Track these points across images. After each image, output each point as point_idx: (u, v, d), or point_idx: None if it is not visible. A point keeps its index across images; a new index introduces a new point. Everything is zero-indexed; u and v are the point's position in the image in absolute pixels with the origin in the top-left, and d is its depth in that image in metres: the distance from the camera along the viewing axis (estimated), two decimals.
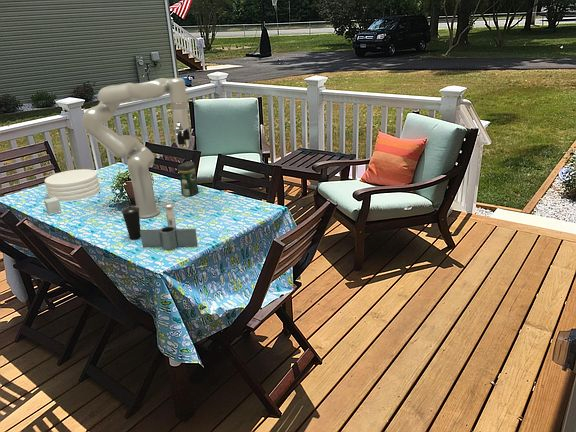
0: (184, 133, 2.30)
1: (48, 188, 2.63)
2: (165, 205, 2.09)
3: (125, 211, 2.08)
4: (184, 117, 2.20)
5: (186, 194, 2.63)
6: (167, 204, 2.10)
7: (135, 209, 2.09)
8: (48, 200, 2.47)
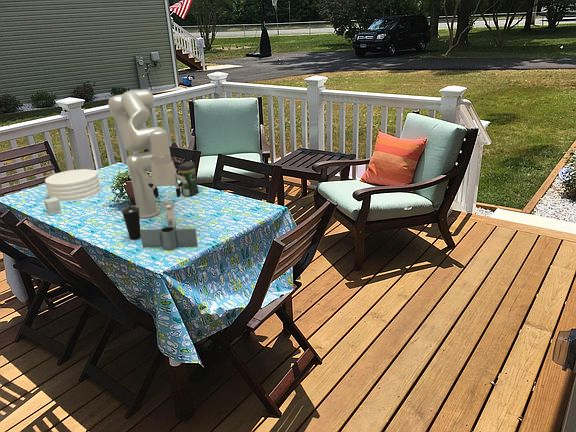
0: (156, 191, 2.07)
1: (48, 188, 2.64)
2: (165, 205, 2.09)
3: (125, 211, 2.08)
4: None
5: (186, 194, 2.63)
6: (167, 204, 2.10)
7: (135, 209, 2.09)
8: (48, 200, 2.47)
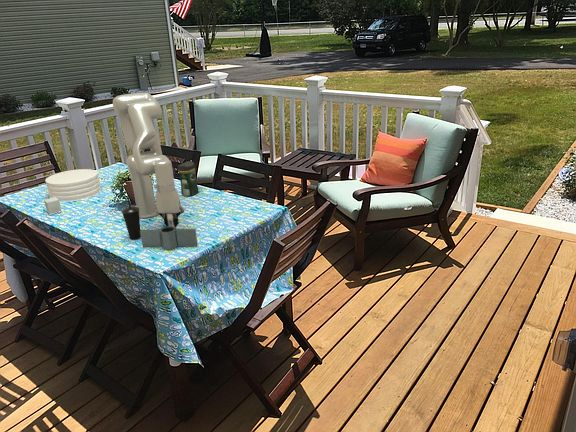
0: (166, 220, 2.13)
1: (49, 188, 2.64)
2: None
3: (125, 211, 2.08)
4: None
5: (186, 194, 2.63)
6: None
7: (135, 209, 2.09)
8: (48, 200, 2.47)
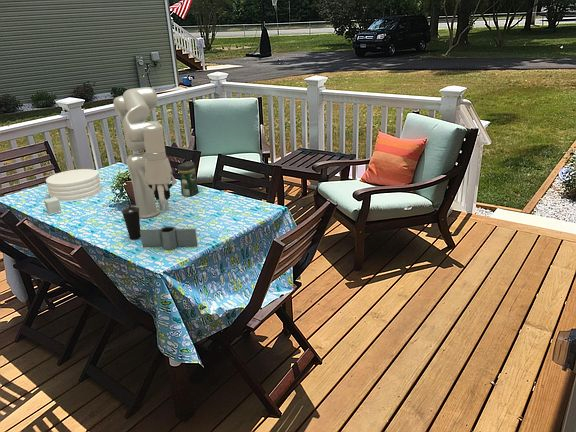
0: (157, 192, 1.95)
1: (49, 188, 2.64)
2: None
3: (125, 211, 2.08)
4: None
5: (186, 194, 2.63)
6: None
7: (135, 209, 2.09)
8: (48, 200, 2.47)
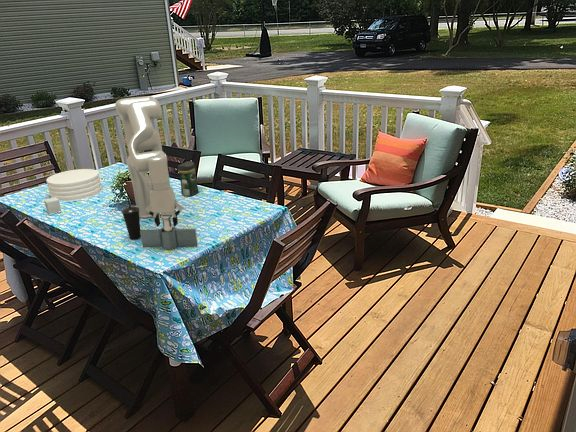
0: (157, 219, 2.00)
1: (50, 188, 2.64)
2: (162, 215, 1.98)
3: (125, 211, 2.08)
4: None
5: (186, 194, 2.63)
6: (165, 214, 1.99)
7: (135, 209, 2.09)
8: (48, 200, 2.47)
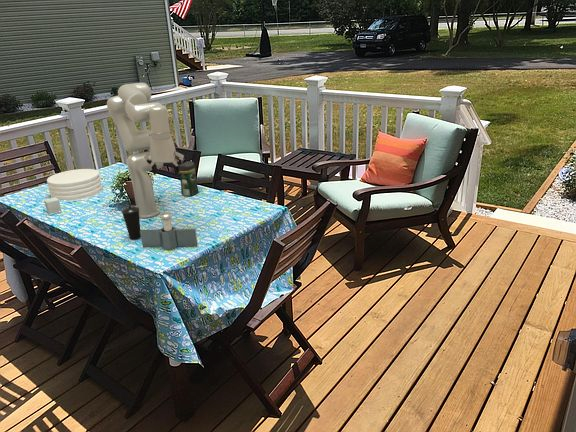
0: (154, 167, 2.05)
1: (50, 187, 2.64)
2: (162, 215, 1.98)
3: (125, 211, 2.08)
4: None
5: (186, 194, 2.63)
6: (164, 214, 1.99)
7: (135, 209, 2.09)
8: (48, 200, 2.47)
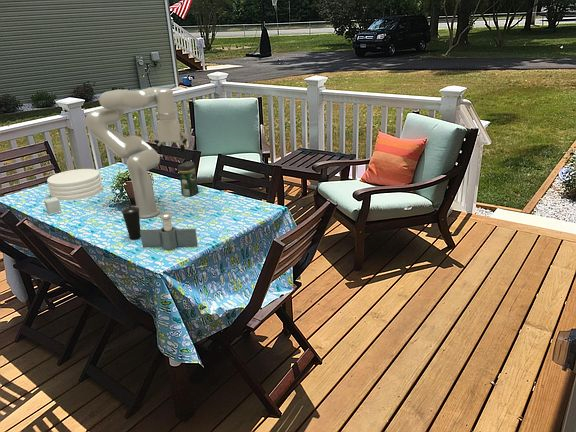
0: (161, 147, 2.20)
1: (50, 187, 2.64)
2: (162, 215, 1.98)
3: (125, 211, 2.08)
4: None
5: (186, 194, 2.63)
6: (165, 214, 1.99)
7: (135, 209, 2.09)
8: (48, 200, 2.47)
